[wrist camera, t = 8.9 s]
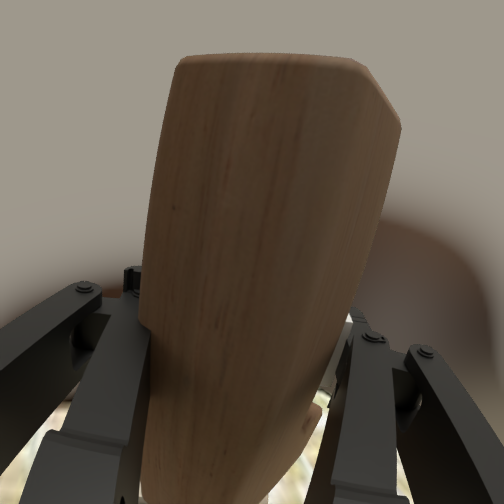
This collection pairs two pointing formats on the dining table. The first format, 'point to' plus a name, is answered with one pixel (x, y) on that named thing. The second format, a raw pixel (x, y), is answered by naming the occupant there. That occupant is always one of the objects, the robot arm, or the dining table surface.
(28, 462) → the dining table surface
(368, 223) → the wooden block
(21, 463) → the dining table surface
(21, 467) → the dining table surface
